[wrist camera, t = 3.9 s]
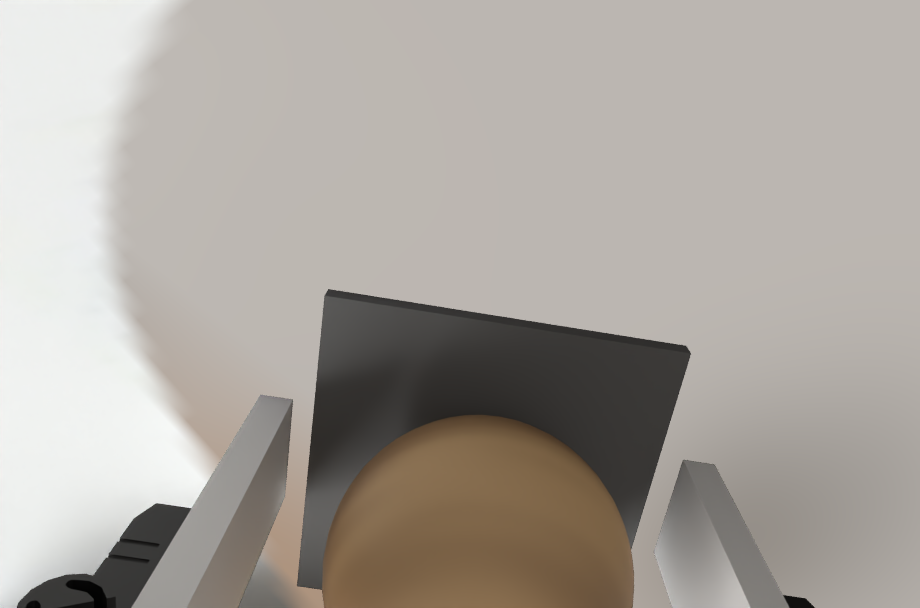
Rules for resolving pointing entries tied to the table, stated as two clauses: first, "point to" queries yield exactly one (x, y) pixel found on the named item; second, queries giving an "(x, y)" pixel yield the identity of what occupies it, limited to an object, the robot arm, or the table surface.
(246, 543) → the robot arm
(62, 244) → the table surface
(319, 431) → the mat
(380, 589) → the bead
